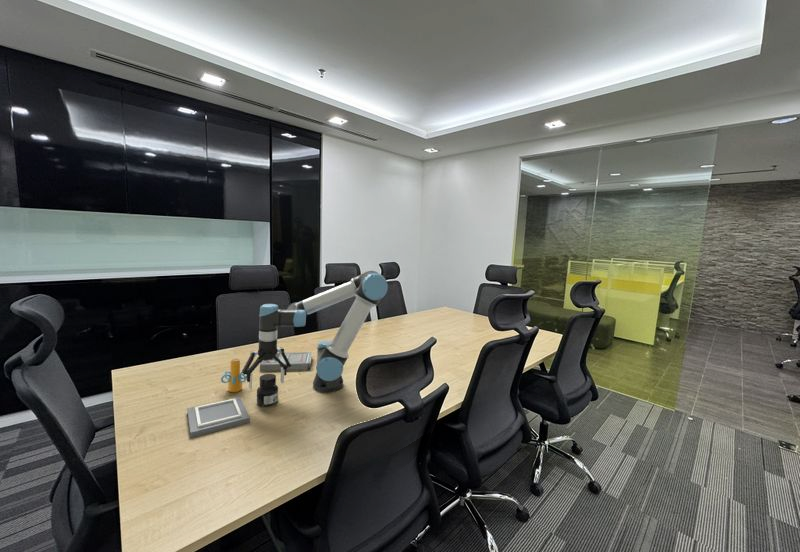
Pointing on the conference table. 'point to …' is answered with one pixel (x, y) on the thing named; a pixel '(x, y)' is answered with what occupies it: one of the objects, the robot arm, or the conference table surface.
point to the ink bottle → (267, 390)
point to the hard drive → (295, 359)
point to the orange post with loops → (234, 376)
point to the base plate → (217, 416)
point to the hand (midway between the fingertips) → (266, 385)
